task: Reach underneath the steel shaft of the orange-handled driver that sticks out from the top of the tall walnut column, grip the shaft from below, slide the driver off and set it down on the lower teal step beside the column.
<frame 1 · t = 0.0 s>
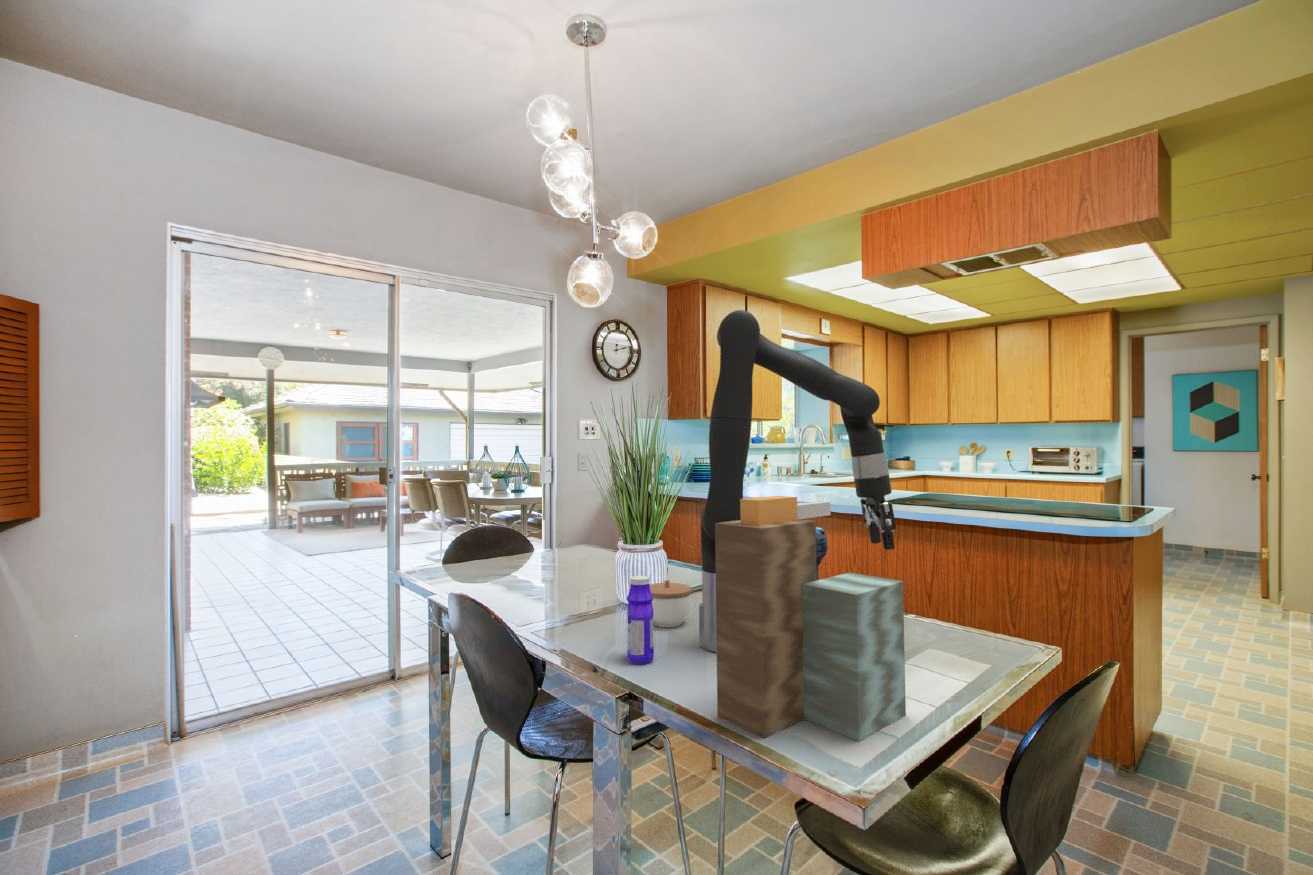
hand: (882, 546, 134), 22 cm above the table, tool pointing down, fingers open, 8 cm apart
bottle: (640, 660, 126), on the table
lidded bowl: (667, 624, 153), on the table
stand: (794, 702, 104), on the table
impact wrench: (811, 623, 152), on the table
driver: (788, 519, 104), point 32 cm above the table, touching stand
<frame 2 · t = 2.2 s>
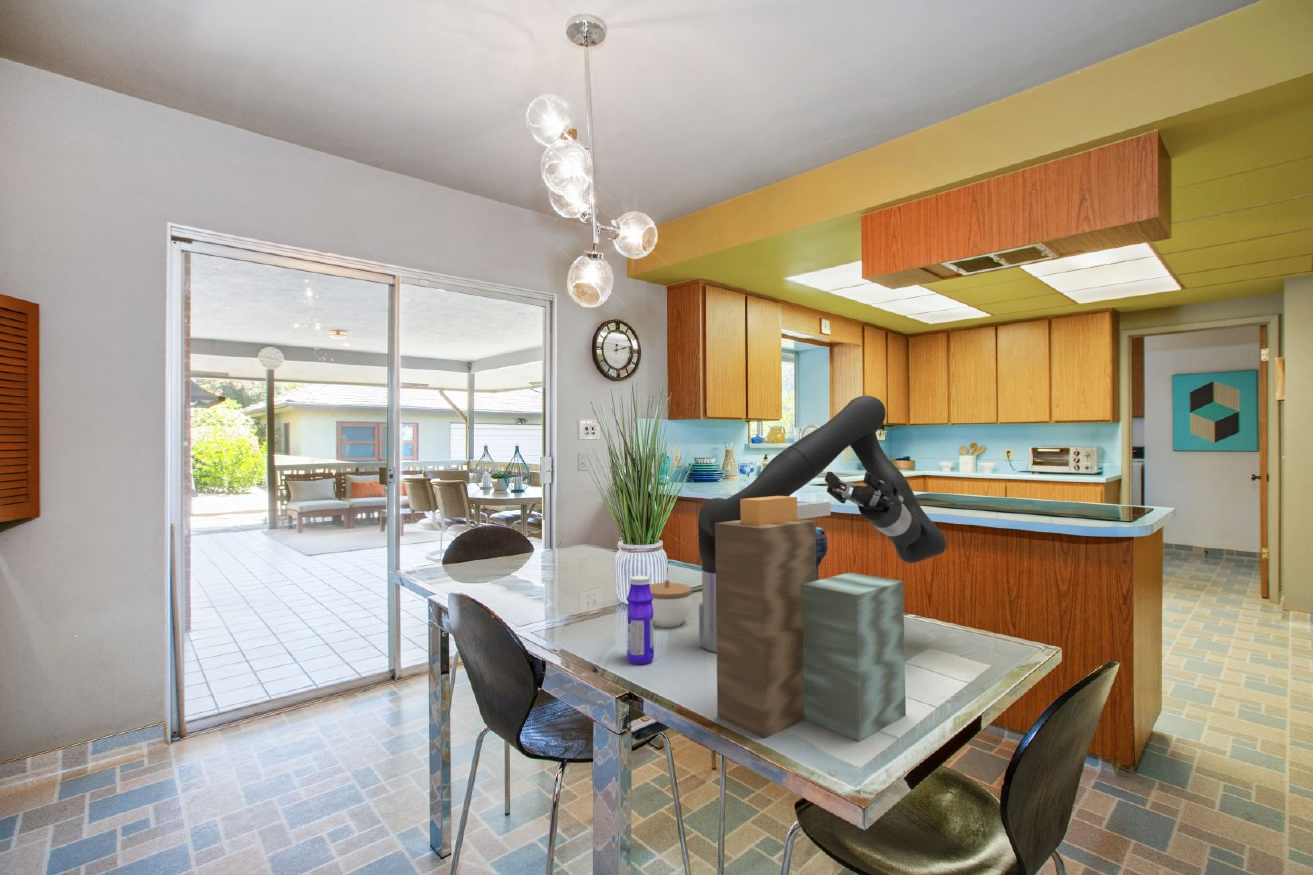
hand: (846, 476, 116), 39 cm above the table, tool pointing upward, fingers open, 8 cm apart
nothing on the table moved.
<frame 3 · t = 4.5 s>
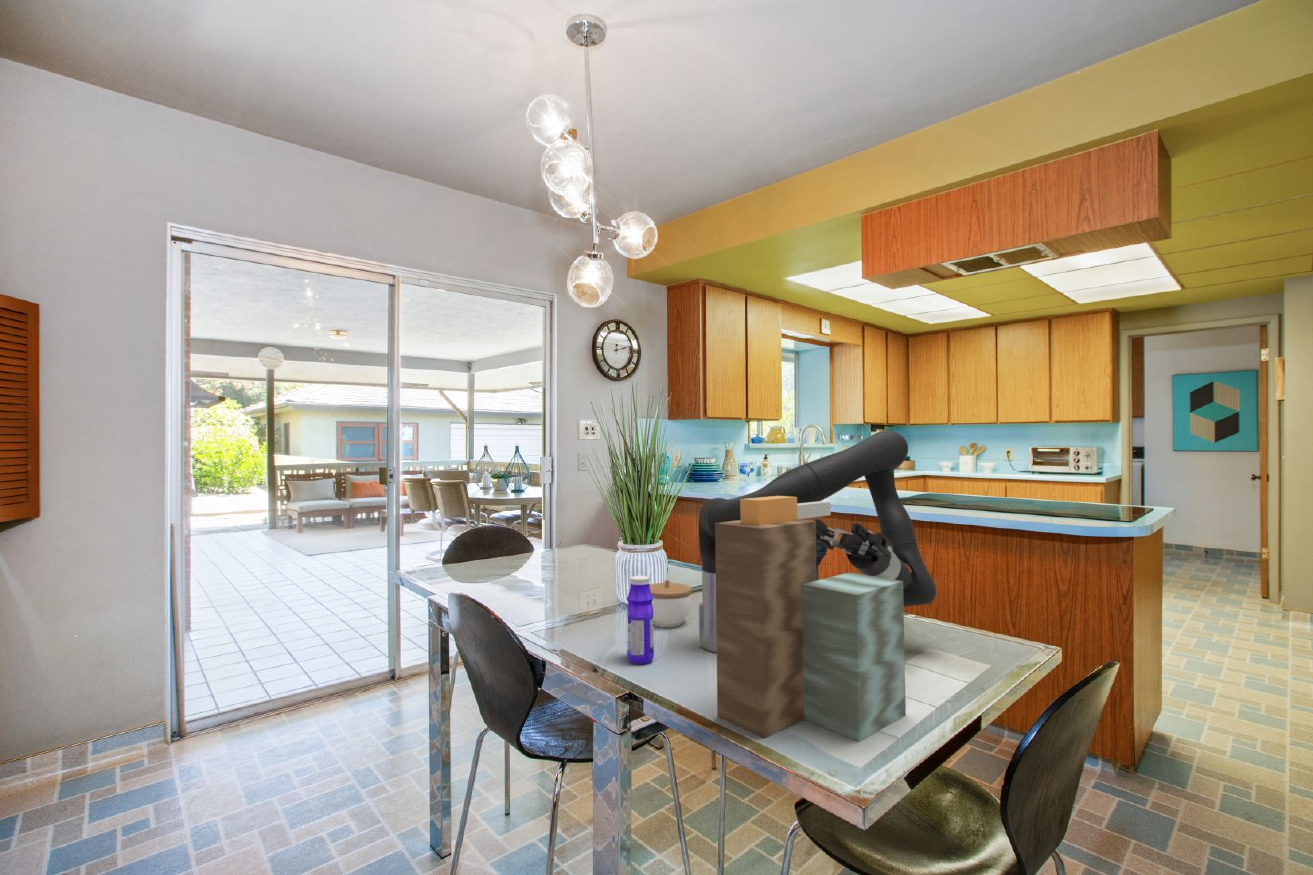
hand: (834, 525, 113), 30 cm above the table, tool pointing upward, fingers open, 8 cm apart
nothing on the table moved.
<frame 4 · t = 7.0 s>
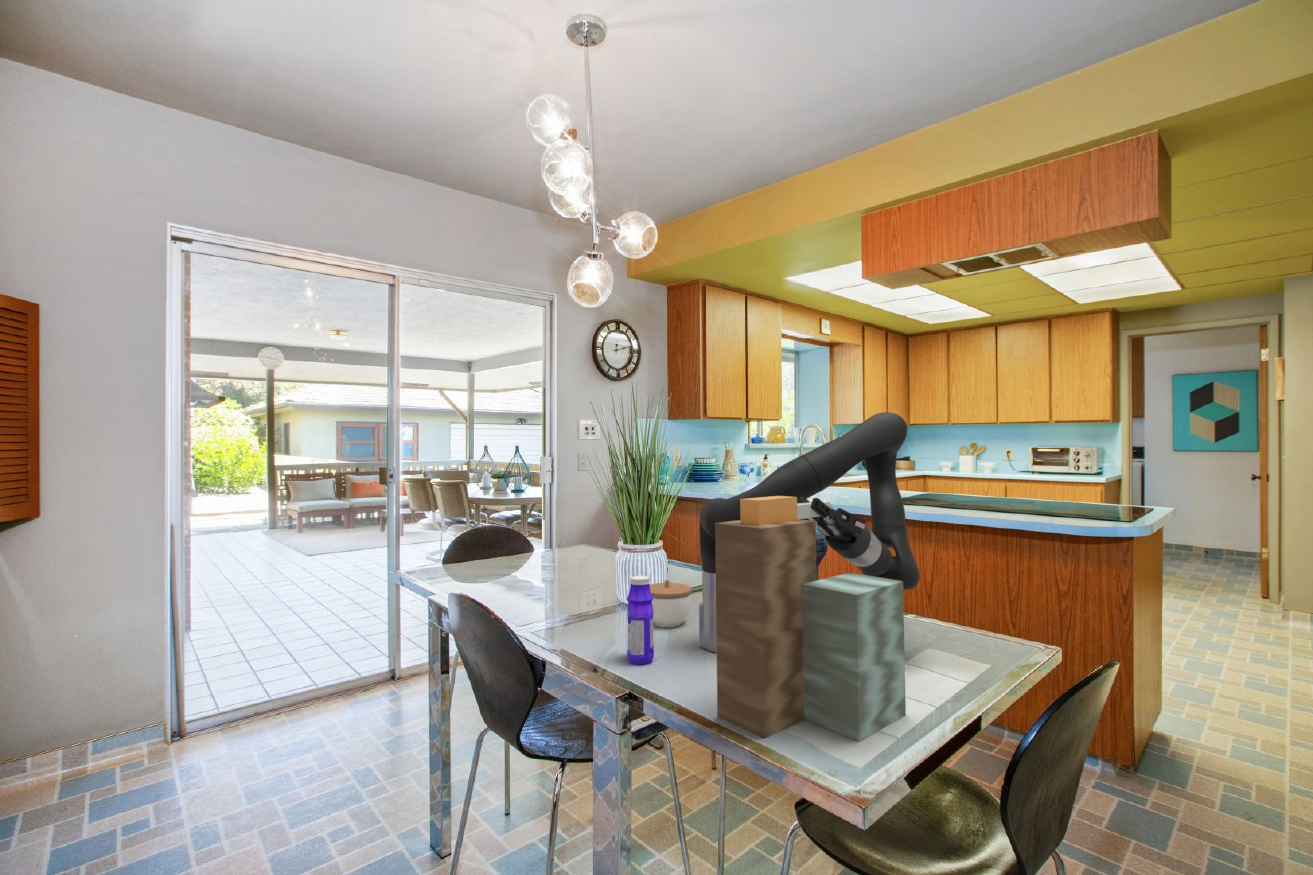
hand: (806, 502, 108), 35 cm above the table, tool pointing upward, fingers closed on driver, 2 cm apart
driver: (787, 519, 104), point 32 cm above the table, touching gripper, stand
everything else where it was.
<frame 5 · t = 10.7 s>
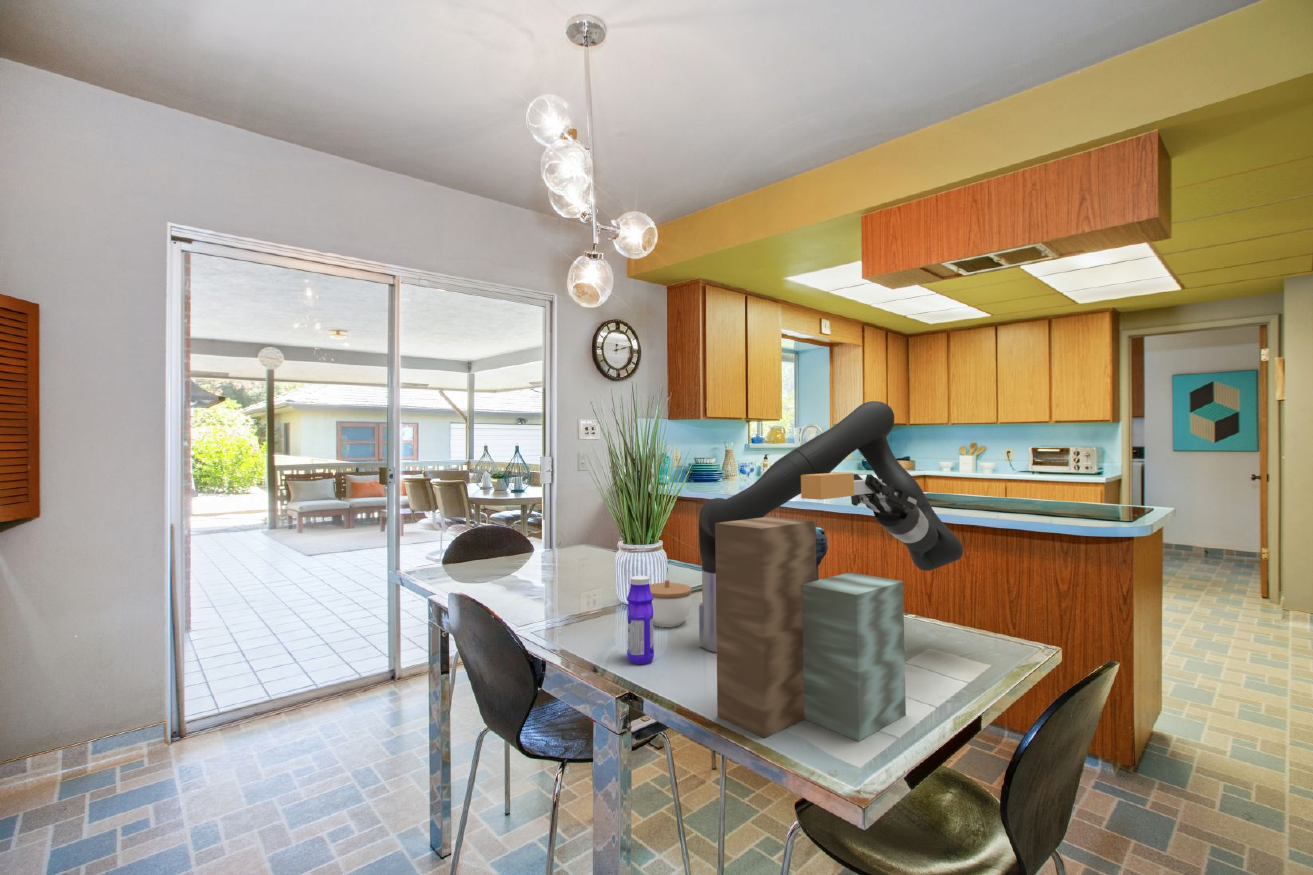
hand: (860, 478, 111), 39 cm above the table, tool pointing upward, fingers closed on driver, 2 cm apart
driver: (844, 495, 107), point 36 cm above the table, touching gripper
everything else where it was.
when the fingers open (26 cm above the table, at t = 14.6 s): driver drops 1 cm, resting on stand.
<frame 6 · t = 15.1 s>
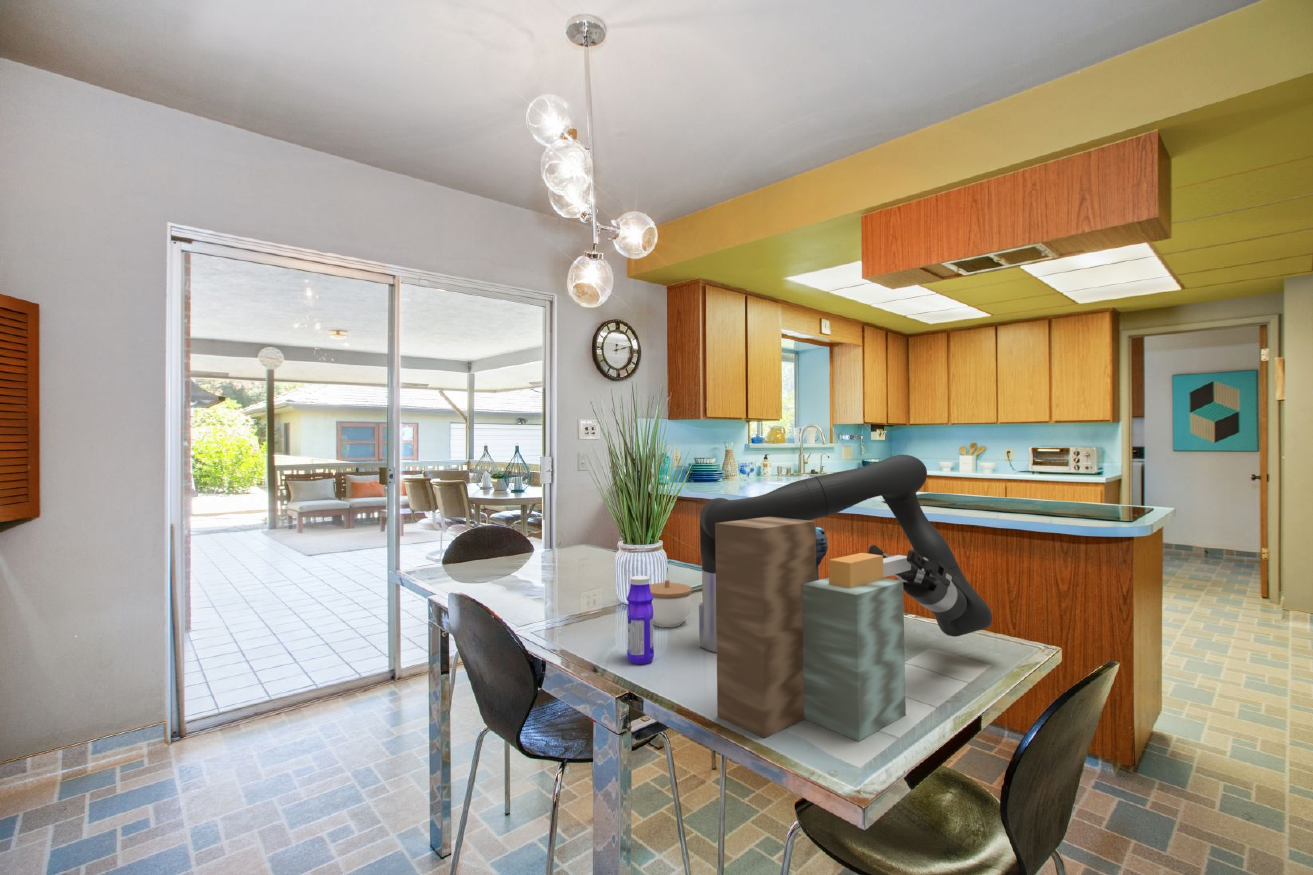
hand: (890, 552, 107), 26 cm above the table, tool pointing upward, fingers open, 6 cm apart
driver: (872, 577, 103), point 22 cm above the table, touching stand
everything else where it was.
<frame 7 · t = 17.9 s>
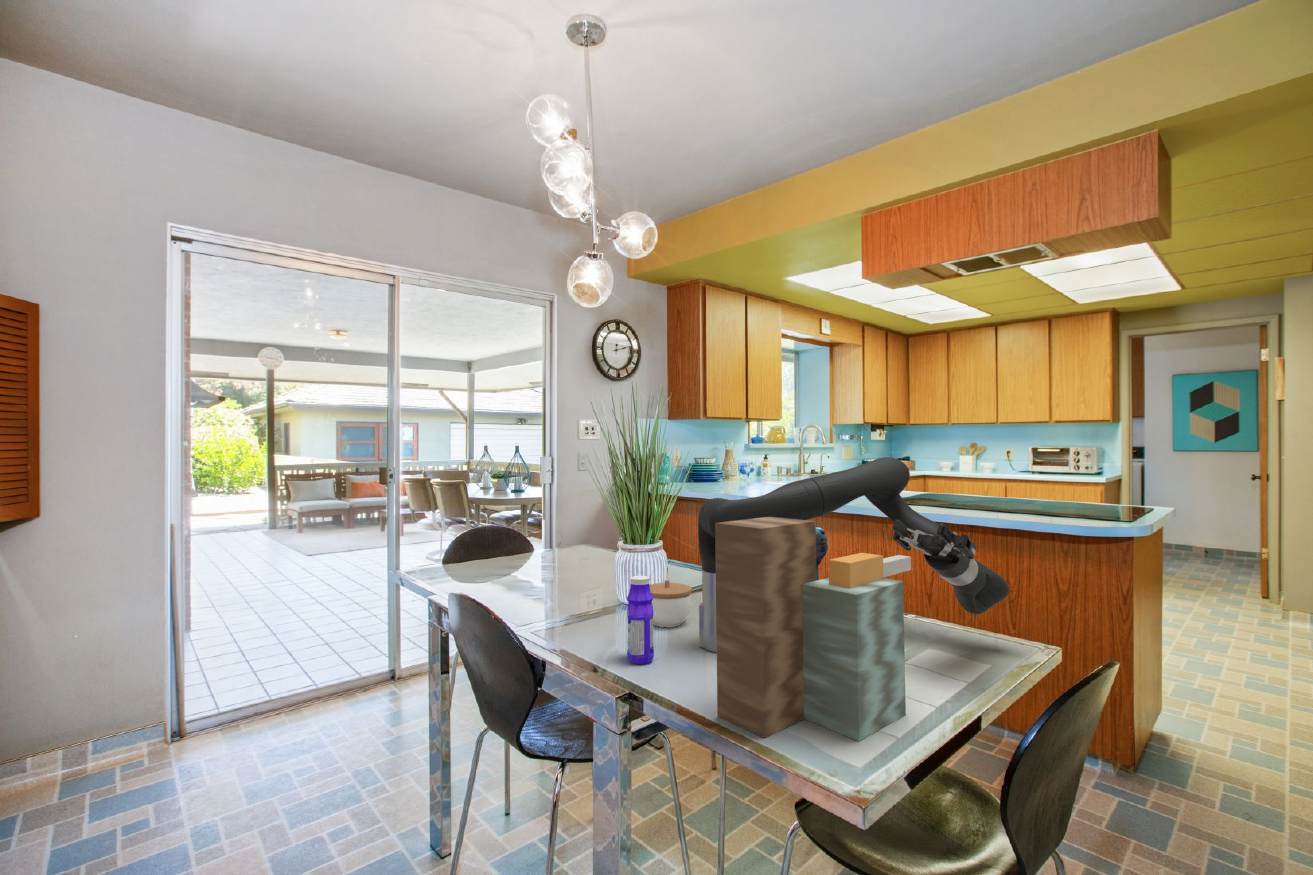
hand: (917, 526, 113), 29 cm above the table, tool pointing upward, fingers open, 8 cm apart
nothing on the table moved.
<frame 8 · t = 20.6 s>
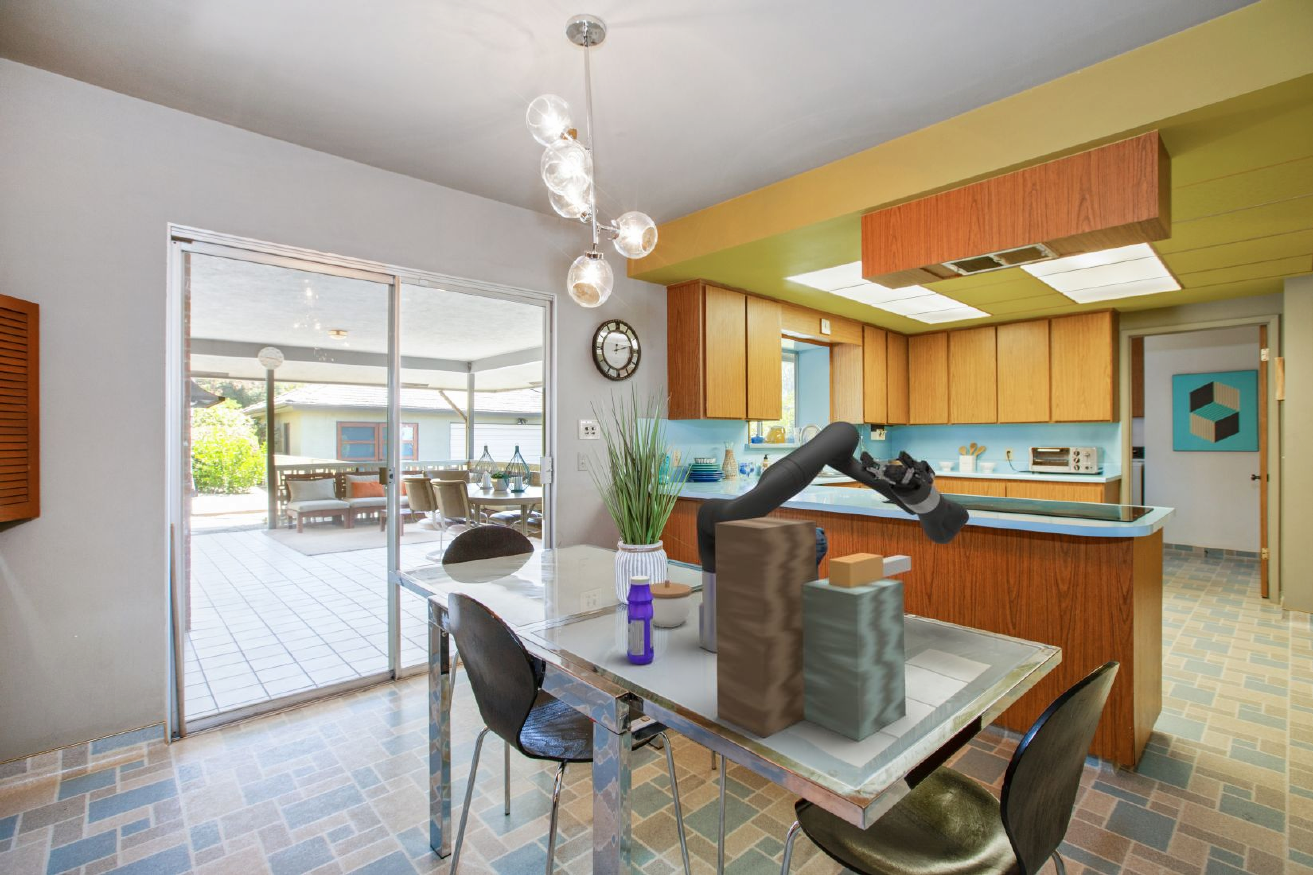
hand: (881, 454, 124), 43 cm above the table, tool pointing upward, fingers open, 8 cm apart
nothing on the table moved.
at the end: driver inside the target area on the stand (0.2 cm from its centre), point 22.0 cm above the stand's base; the gripper is holding nothing; driver tilted 0° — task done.
